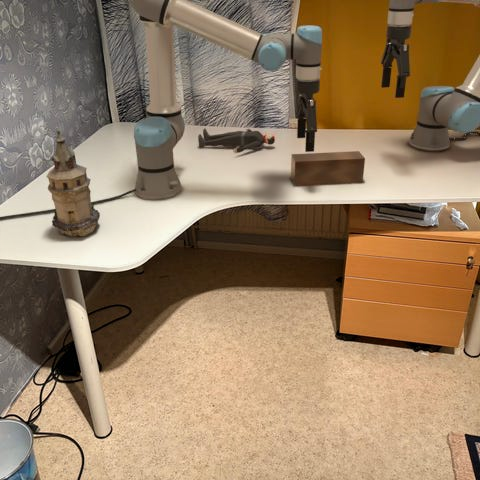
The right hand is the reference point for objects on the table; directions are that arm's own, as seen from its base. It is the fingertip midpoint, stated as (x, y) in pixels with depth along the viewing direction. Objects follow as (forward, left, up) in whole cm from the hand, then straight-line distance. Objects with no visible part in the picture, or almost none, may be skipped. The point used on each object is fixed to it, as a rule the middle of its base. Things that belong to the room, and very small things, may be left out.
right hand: (392, 92), depth 181 cm
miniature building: (+104, -31, -27) cm, 112 cm away
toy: (+24, -53, -27) cm, 64 cm away
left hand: (+30, -11, -14) cm, 35 cm away
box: (+24, -6, -27) cm, 37 cm away
